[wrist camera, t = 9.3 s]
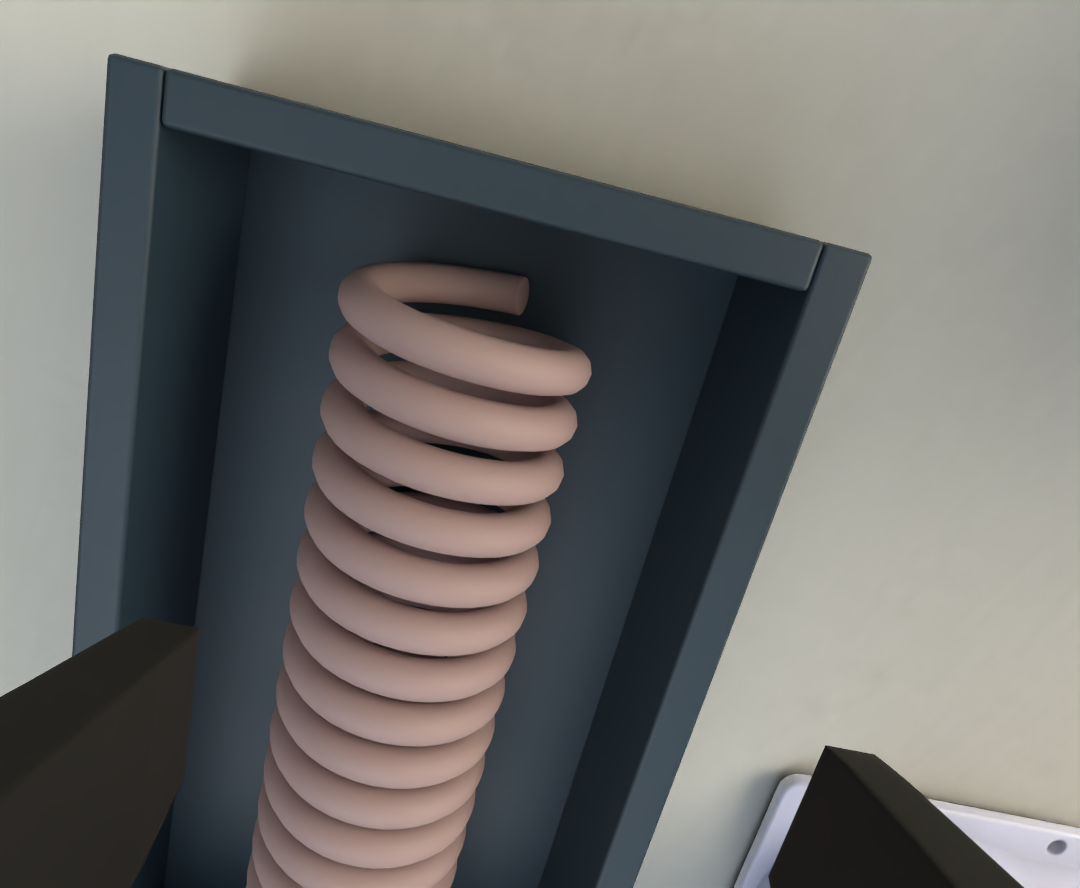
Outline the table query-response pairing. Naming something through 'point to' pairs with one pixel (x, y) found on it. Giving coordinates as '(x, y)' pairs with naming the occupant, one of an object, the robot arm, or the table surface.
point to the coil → (409, 577)
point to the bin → (433, 444)
